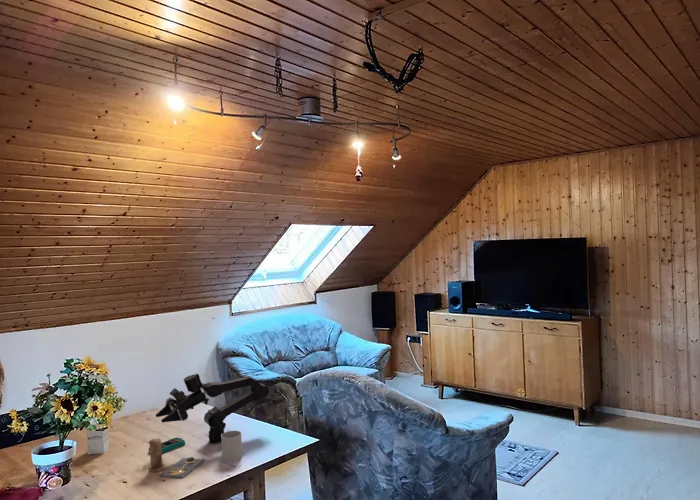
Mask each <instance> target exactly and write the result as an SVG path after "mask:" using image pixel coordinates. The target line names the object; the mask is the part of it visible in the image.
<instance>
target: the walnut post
mask: <svg viewBox="0 0 700 500" xmlns="http://www.w3.org/2000/svg"><path fill="white" fill-rule="evenodd" d="M148 443H149V447H150V452H149V457H150V459H149V460H150V461H149V462H150V466H149V468H148V471H149V472H150V473H151V474H152V473H153V474H154V473H155V474H156V473H159V472H162V471H164V469H165V466H164V463H163V457H162V456H163V454H162V451H161V443H162V439H161V438H152V439H150V440H149V442H148Z"/></svg>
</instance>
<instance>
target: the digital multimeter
mask: <svg viewBox="0 0 700 500" xmlns="http://www.w3.org/2000/svg"><path fill="white" fill-rule="evenodd" d="M183 446H186V440H184V439H183V438H180V437H173V438H171V439H168V440H166V441H165V440H164V441H163V442H162V441H161V451H162V455H163V454H166V453H168V452H170V451H172V450H176V449H178V448H180V447H183ZM148 452H149V453H150V446H149V447H148Z"/></svg>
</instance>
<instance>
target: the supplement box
mask: <svg viewBox="0 0 700 500" xmlns="http://www.w3.org/2000/svg"><path fill="white" fill-rule="evenodd" d="M85 431H86V432H85V433H86V435H85V436H86V451H87V452H86V455H87V456H89V455H96V454H105V453H106V451H107V450H108V449H109V447H110V446H109V429H106V430H104V431H88V430H87V429H86V428H85Z"/></svg>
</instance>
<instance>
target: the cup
mask: <svg viewBox="0 0 700 500" xmlns="http://www.w3.org/2000/svg"><path fill="white" fill-rule="evenodd" d="M221 441H222V442H221V454H222V455H221V457H222V459H221V460H222V461H223V460H224V462H227V463H229V462H231V461H232V462H236V461H235V460H237V461H239V460H241V459H242V458H243V444H242V443H243V442H242V432H241V431H240V430H228V431H224V433H223V434H222V435H221Z"/></svg>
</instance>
